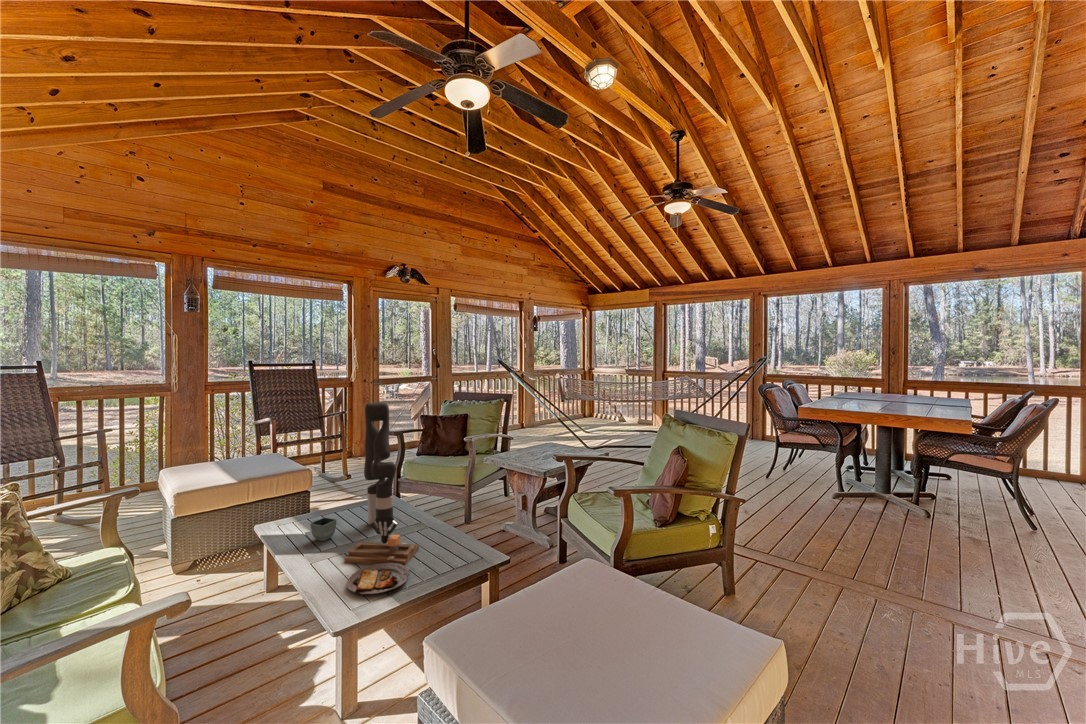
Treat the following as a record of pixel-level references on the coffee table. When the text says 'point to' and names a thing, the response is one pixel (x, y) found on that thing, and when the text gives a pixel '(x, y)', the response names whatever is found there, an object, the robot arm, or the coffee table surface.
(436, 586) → the coffee table surface
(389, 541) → the fader
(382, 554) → the console
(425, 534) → the coffee table surface
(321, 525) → the flower pot
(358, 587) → the food plate
